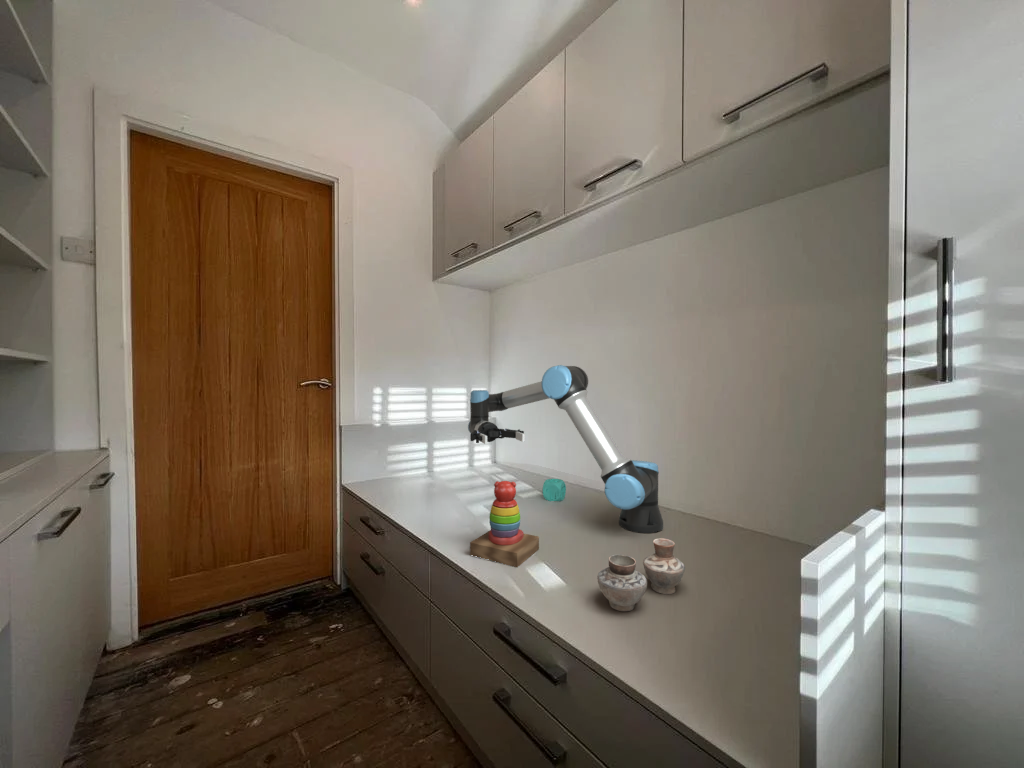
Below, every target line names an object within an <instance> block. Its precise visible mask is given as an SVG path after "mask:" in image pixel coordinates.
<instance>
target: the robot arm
mask: <svg viewBox="0 0 1024 768" xmlns="http://www.w3.org/2000/svg"><path fill="white" fill-rule="evenodd" d="M588 387H589V376H588V374H587V373H586V371H585V370H584V369H582V368H581V367H579V366H577V365H562V364H559V365H554V366H551V367H549V368H548V369H547V370H546V371H545V372H544V374H543V375H542V378H541V380H540V381H537V382H534V383H530V384H528V385H527V384H526V385H524V386H523V385H522V386H519V387H516V388H512V389H508V390H505V391H501V392H498V393H490V394H489V391H488V390H486V389H479V390H478V389H474V390H472V391H471V392H470V395H469V396H470V397H469V404H470V406H469V408H470V410H469V411H470V418H469V420H470V421H469V422H468V424H467V429H468V432H469V433H470V437H469V438H470V442H474V441H475V443H476V444H480V443H482V444H484V445H488V443H491V442H494V441H495V440H497V439H505V438H506V439H507V438H509V439H516V440H517V441H519V442H522V443H524V442H525V439H526V438H525V434H526V433H525V431H524V430H521V429H520V428H519V429H517V430H516V429H509V428H505V429H504V428H498V426H497V425H496V424H495V423H494V422H490V419H489V413H491V412H503V411H506V410H508V409H511V408H516V407H520V406H523V405H528V404H532V403H536V402H540V401H544V400H548V399H551V400H553V401H554V402H555V404H556V405H557V407H558V409H559V410H564V411H565V412H566V413H567V415H568V417H569V418H570V420H571V422H572V423H573V425H574V427H575V429H576V430H577V432H578V433H579V435H580V437H581V438H582V440H583V442H584V443H585V445H586V446H587V448H588V450H589V452H590V453H591V454H592V456H593V458H594V459H595V461H596V463H597V464H598V466H599V468H600V470H601V473H600V479H601V480H602V482H603V483H604V494H605V497H606V499H607V500H608V501H609V503H610V504H611V505H612V506H614V507H615V508H617V509H621V510H620V513H619V516H618V524H619V526H620V527H621V528H623V529H625V530H626V531H629V532H633V533H639V532H640V533H641V534H653V533H652V532H655V533H658V532H657V531H659V532H660V530H661V531H662V530H663V529H664V520H663V517H662V513H661V510H660V507H659V473H660V472H659V465H658V464H657V462H652V461H647V460H646V461H645V460H634V459H630V458H628V457H625V456H624V454H622V452H621V450H620V449H619V447H618V446H617V444H616V443H615V441H614V440H613V438H612V436H611V434H610V433H609V431H608V429H607V428H606V425H604V423H603V422H602V420H601V418H600V417H599V416H598V414H597V411H595V409H594V407H593V406H592V405H591V403H590V401H589V400H588V398H587V396H588V390H587V389H588Z"/></svg>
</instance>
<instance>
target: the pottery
mask: <svg viewBox="0 0 1024 768" xmlns="http://www.w3.org/2000/svg"><path fill="white" fill-rule="evenodd" d="M652 543H653V548H654V552H655V553H652V554H650V555H647V556H646V557H645V558H644V559H643V560H642V564H643V568H644V572H645V574H646V576H647V578H648V579H649V581H650V582H651V585H650V586H651V589H652V590H653V591H655V593H659V594H663V595H672V594H674V593H675V592H676V587H675V586H677V585H678V584H679V583H680V582H681V580H682V578H683V576H684V573H685V570H686V566H685V563H683V562H682V561H681V560H680V559H679V558H677V557H676V556H675V555H673V554H674V548H675V542H674V541H673V540H671V539H668V538H663V537H660V538H655V539H653V541H652ZM636 564H637V561H636V559H635V558H633V557H632V556H629V555H628V554H627V555H625V554H612V555H610V556H609V557H608V567H606V568H603V569H602V570H600V571H599V572H598V574H597V578H596V579H597V584H598V587H599V589H600V591H601V593H602V594H603V595H604V596H603V597H605V598H606V599H607V600H608V603H609V606H610V607H611V608H612V609H614V610H616V611H620V612H630V611H633V609H634V608H635V604H637V603H638V602H639V601H641V599H642V598H643V596H644V595H645V593H646V591H647V587H648V579H647V578H646V576H645V575H644V574H642V573H641V572H640V571H638V570H636Z"/></svg>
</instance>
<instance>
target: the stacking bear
mask: <svg viewBox="0 0 1024 768" xmlns="http://www.w3.org/2000/svg"><path fill="white" fill-rule="evenodd" d="M493 486H494V489H493V492H494V497H495V499H494V500H493V502H492V504H491V507H490V512H489V517H488V518H489V526H490V530H489V531H490V532H489V536H488V537H489V540H490V541H491V542H492V543H494V544H497V545H512V544H515V543H517V542H519V541H521V540H522V538H523V537H524V534H525V532H524V530H522V529H520V525H521V513H520V508H519V504H518V502H517V500H516V499H515V497H516V494H517V488H516V487H517V483H516V482H515V481H508V480H503V481H498V480H497V481H495V482H494V484H493Z"/></svg>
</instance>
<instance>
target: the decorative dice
mask: <svg viewBox="0 0 1024 768" xmlns="http://www.w3.org/2000/svg"><path fill="white" fill-rule="evenodd" d="M566 486H567V484H566V482H565V481H564V480H563V479H560V478H549V479H548V478H547V479H546V480H544V481H543V485H542V497H543V498H544V499H545V500H546V501H547V500H548V501H547V502H551V501H559V502H562V501H564V499H565V498H566V492H567V487H566Z"/></svg>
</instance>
